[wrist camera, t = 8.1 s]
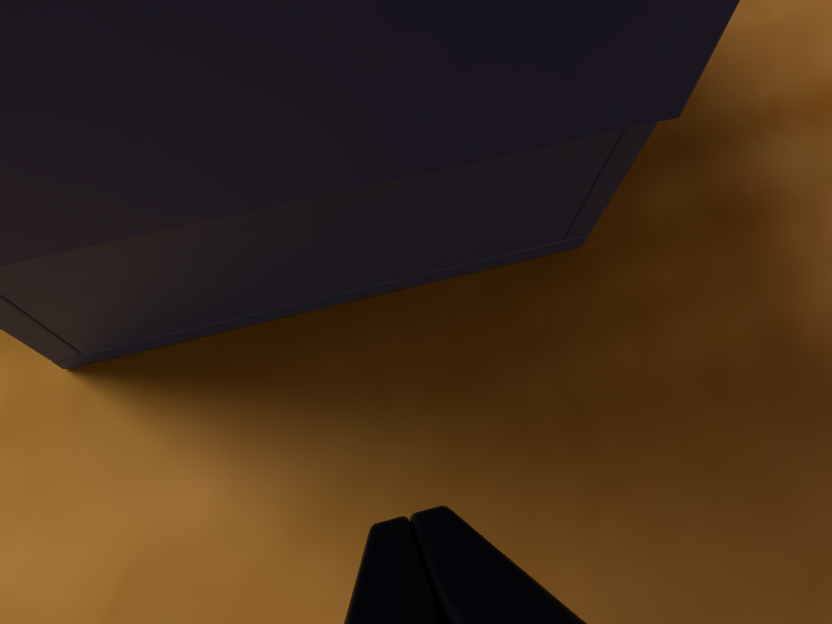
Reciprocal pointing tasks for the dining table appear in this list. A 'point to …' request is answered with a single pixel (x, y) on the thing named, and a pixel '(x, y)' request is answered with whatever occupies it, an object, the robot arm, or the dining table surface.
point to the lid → (306, 99)
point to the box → (313, 251)
